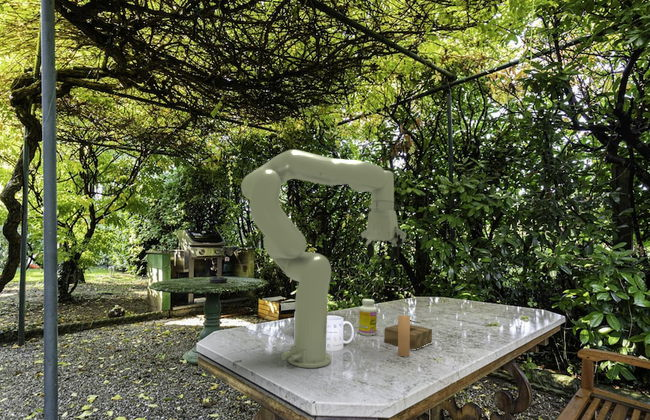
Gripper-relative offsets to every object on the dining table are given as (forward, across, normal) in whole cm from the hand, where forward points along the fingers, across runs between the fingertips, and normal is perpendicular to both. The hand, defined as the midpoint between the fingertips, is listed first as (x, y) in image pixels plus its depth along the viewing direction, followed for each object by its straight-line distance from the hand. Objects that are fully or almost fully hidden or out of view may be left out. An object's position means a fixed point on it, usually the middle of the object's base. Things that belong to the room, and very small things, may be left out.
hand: (382, 257), depth 123 cm
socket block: (+31, +3, +12) cm, 33 cm away
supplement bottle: (+31, -14, +12) cm, 36 cm away
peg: (+30, +8, -1) cm, 31 cm away
